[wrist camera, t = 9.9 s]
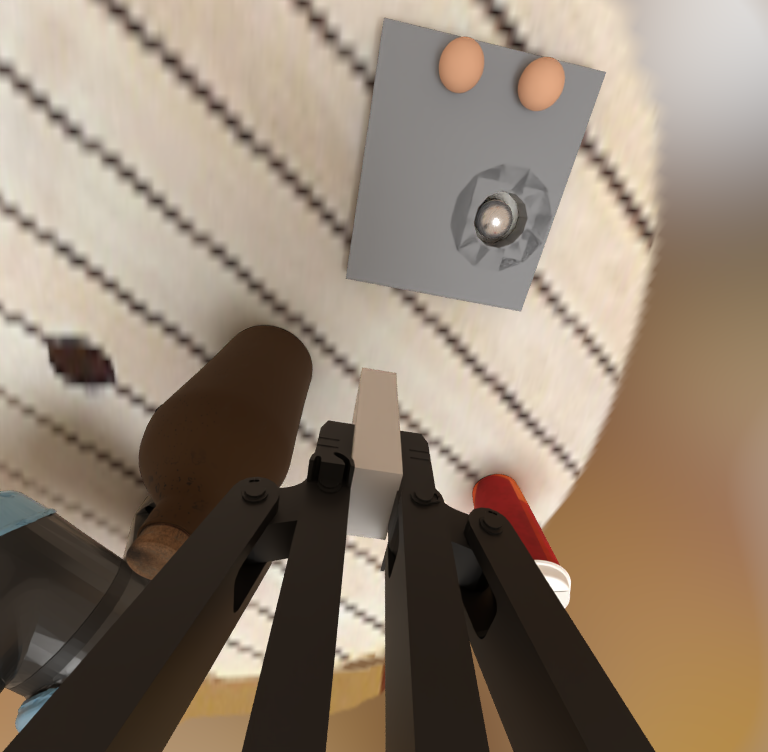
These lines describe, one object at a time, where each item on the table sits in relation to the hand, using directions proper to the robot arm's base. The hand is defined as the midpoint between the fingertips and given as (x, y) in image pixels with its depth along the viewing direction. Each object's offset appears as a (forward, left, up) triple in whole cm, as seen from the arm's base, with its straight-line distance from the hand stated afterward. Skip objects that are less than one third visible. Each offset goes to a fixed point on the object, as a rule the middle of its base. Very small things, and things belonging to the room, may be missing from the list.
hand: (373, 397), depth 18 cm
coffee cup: (+20, -25, -25) cm, 40 cm away
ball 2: (+9, +7, -23) cm, 26 cm away
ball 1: (+3, +17, -20) cm, 26 cm away
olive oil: (-10, -12, -25) cm, 29 cm away
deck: (+6, +9, -24) cm, 27 cm away
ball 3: (+9, +17, -20) cm, 28 cm away
